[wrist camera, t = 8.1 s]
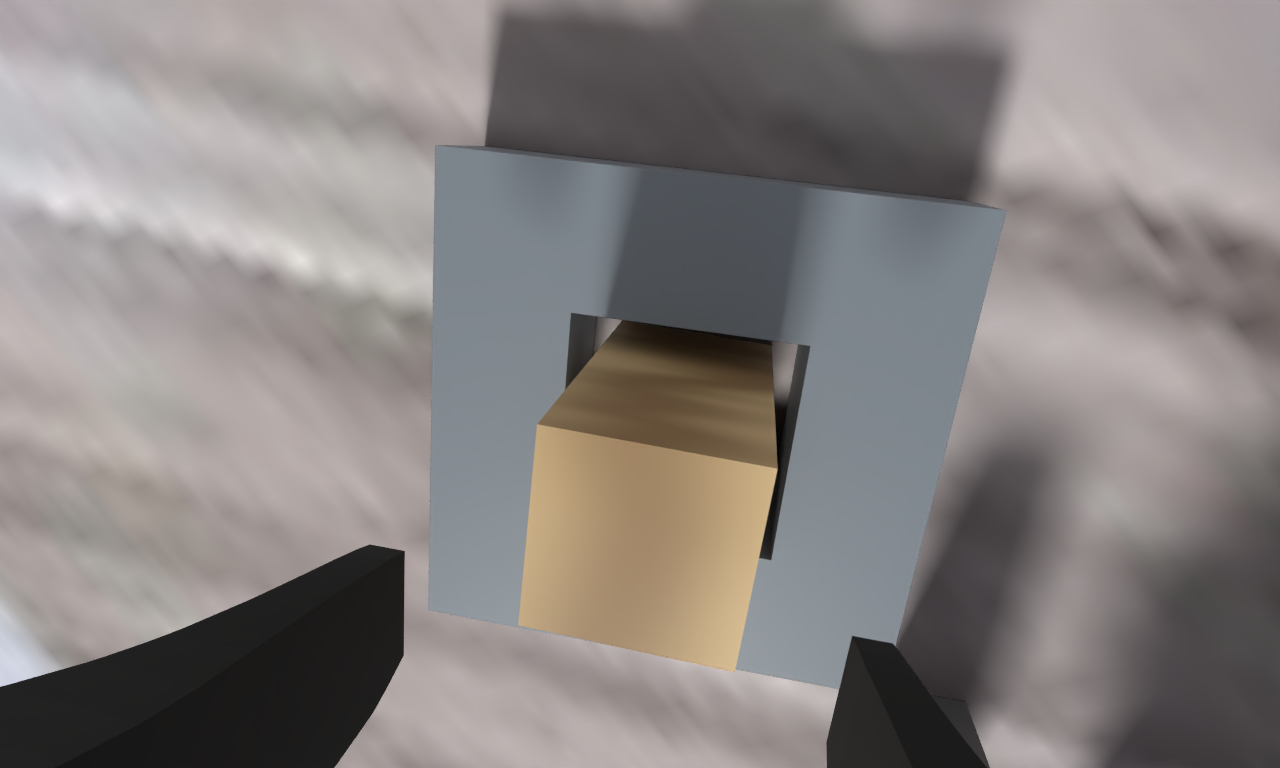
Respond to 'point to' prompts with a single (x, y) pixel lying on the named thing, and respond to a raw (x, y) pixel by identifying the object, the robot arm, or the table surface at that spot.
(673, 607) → the square peg
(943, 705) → the flat slat
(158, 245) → the table surface
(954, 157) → the table surface
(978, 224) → the socket plate
